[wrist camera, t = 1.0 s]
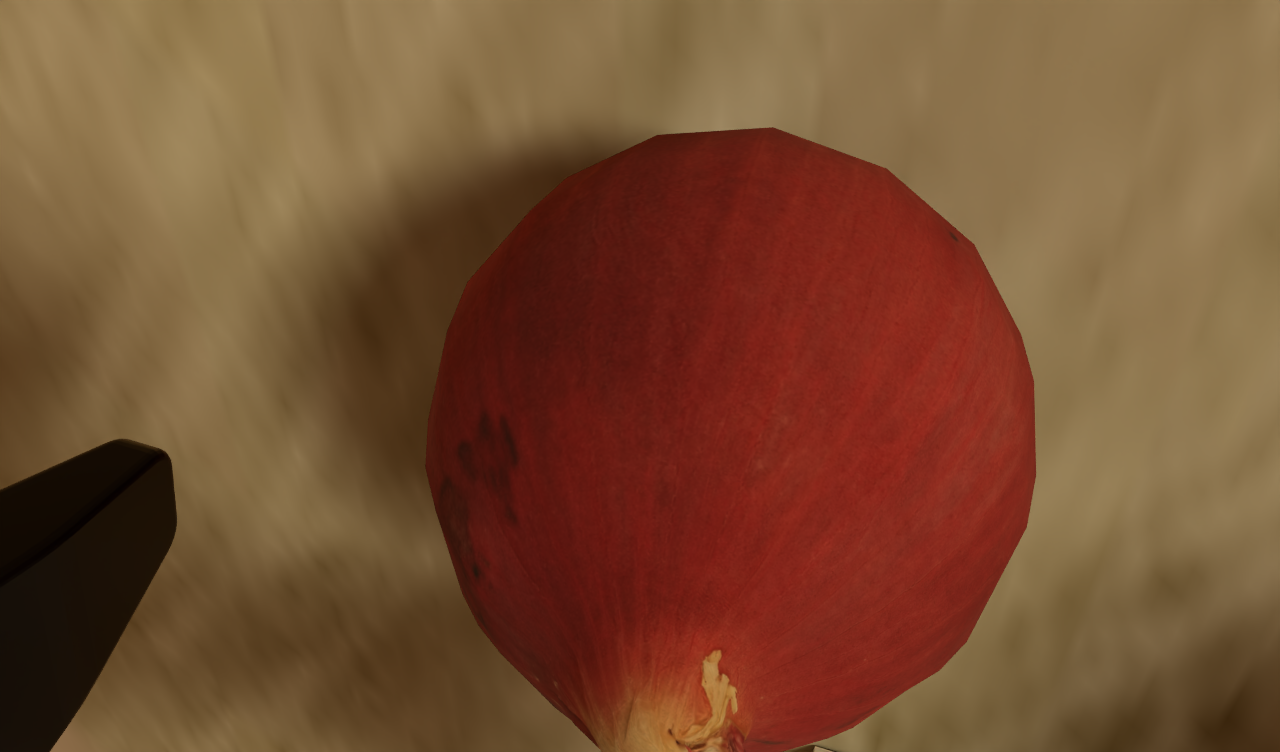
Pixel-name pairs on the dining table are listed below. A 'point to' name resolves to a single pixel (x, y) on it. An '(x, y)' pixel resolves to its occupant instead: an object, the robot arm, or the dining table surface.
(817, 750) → the display pedestal
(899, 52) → the dining table surface
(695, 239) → the onion
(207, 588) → the dining table surface
